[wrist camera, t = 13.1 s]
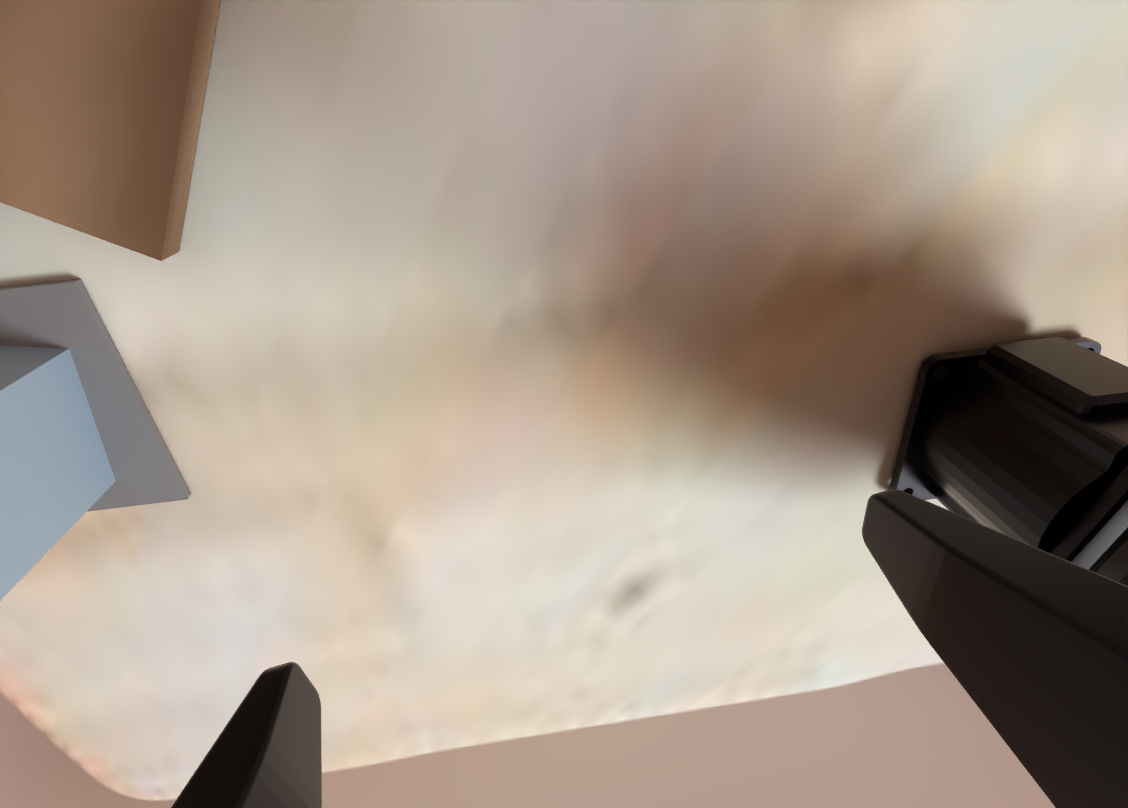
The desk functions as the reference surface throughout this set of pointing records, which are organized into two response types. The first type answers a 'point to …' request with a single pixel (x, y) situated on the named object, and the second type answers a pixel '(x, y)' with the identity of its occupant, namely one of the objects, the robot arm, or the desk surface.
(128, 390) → the mat
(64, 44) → the stand
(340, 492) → the desk surface
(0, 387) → the sleeve
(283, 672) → the robot arm
